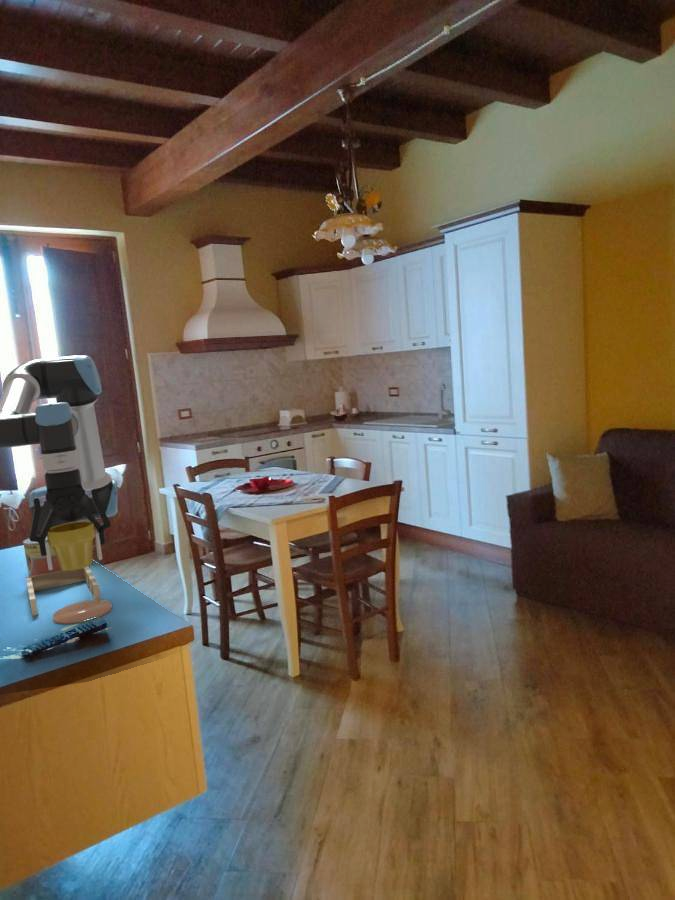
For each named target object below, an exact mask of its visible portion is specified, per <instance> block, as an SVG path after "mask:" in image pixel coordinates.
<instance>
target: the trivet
mask: <svg viewBox="0 0 675 900" xmlns="http://www.w3.org/2000/svg"><path fill="white" fill-rule="evenodd" d="M112 609H113V604H112V602H111V601H110V600H107V599H101V600H95V599H91V600H84V601H79V602H75V603H72V604H69V605H66V606H64V607H61V608H59V609H58V610H56V611H55V612H54V613H53V614H52V618H53V619H52V620H53V621H54V623H57V624H60V625H61V624H62V625H73V624H79V622H80V623H83V622H82V621H84V620H87V619H91V618H94V617H98V618H100V617H102V616H104V615H106V614H108V613H110V612H111V610H112Z"/></svg>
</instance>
